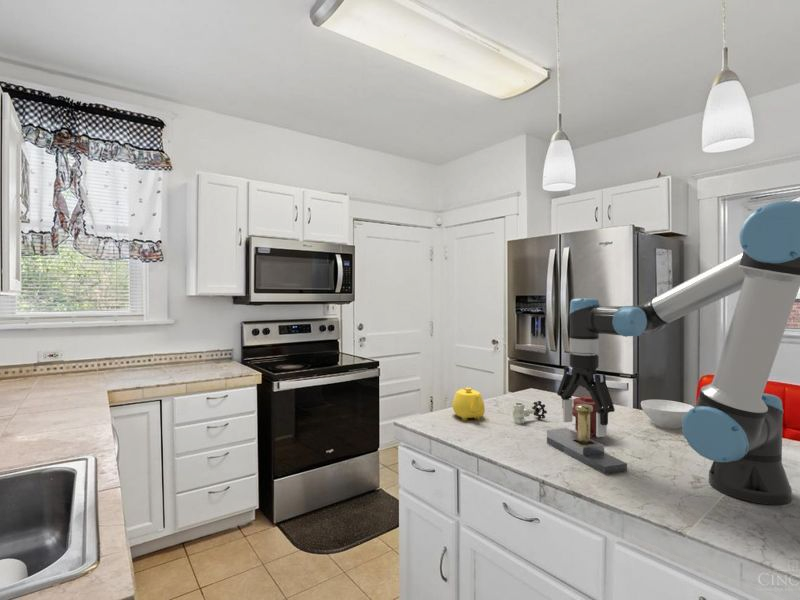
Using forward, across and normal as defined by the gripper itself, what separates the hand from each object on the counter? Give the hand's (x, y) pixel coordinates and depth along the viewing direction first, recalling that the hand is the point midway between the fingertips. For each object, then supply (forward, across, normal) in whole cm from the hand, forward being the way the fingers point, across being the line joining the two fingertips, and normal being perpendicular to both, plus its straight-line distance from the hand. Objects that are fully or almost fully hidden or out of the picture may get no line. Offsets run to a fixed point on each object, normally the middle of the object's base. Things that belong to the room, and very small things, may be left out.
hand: (583, 428), depth 124 cm
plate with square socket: (+8, 0, 0) cm, 8 cm away
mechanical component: (+8, +14, -13) cm, 21 cm away
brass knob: (+8, 0, 0) cm, 8 cm away
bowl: (+8, +14, -46) cm, 49 cm away
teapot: (+8, +44, +14) cm, 47 cm away
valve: (+8, +34, -4) cm, 35 cm away
